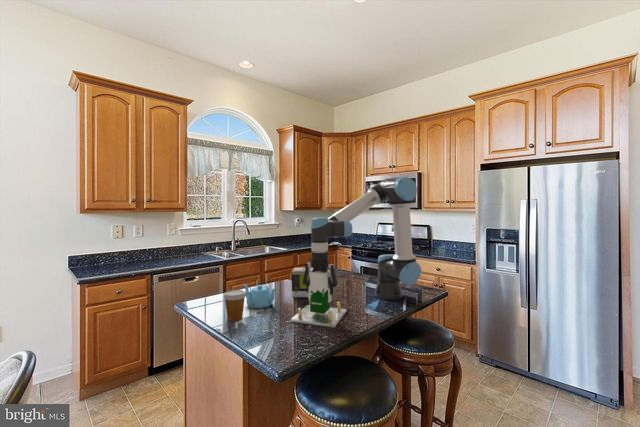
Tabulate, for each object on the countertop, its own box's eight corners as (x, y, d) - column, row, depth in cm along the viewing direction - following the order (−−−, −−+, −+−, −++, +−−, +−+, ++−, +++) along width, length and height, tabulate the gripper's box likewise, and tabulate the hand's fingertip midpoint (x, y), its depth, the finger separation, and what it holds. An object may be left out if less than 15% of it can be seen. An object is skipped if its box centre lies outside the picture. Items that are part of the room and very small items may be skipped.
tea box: (320, 292, 182) (320, 267, 182) (318, 298, 172) (318, 271, 172) (294, 292, 184) (294, 266, 183) (291, 297, 174) (291, 270, 173)
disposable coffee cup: (227, 315, 147) (227, 289, 146) (248, 315, 146) (248, 289, 146) (220, 323, 137) (220, 295, 137) (242, 323, 137) (242, 295, 136)
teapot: (271, 299, 170) (270, 280, 169) (277, 308, 156) (277, 287, 155) (243, 303, 164) (243, 283, 164) (247, 312, 150) (247, 291, 150)
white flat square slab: (346, 311, 151) (346, 300, 151) (334, 327, 132) (334, 315, 132) (307, 307, 157) (307, 296, 157) (290, 321, 138) (290, 310, 138)
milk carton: (332, 308, 147) (332, 265, 146) (325, 314, 139) (325, 269, 138) (314, 306, 150) (314, 264, 150) (307, 312, 142) (306, 268, 141)
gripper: (344, 251, 144) (344, 300, 145) (301, 249, 151) (301, 296, 151) (340, 253, 137) (340, 305, 137) (294, 251, 143) (295, 300, 144)
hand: (319, 300), depth 144 cm, fingers closed on milk carton, 9 cm apart
